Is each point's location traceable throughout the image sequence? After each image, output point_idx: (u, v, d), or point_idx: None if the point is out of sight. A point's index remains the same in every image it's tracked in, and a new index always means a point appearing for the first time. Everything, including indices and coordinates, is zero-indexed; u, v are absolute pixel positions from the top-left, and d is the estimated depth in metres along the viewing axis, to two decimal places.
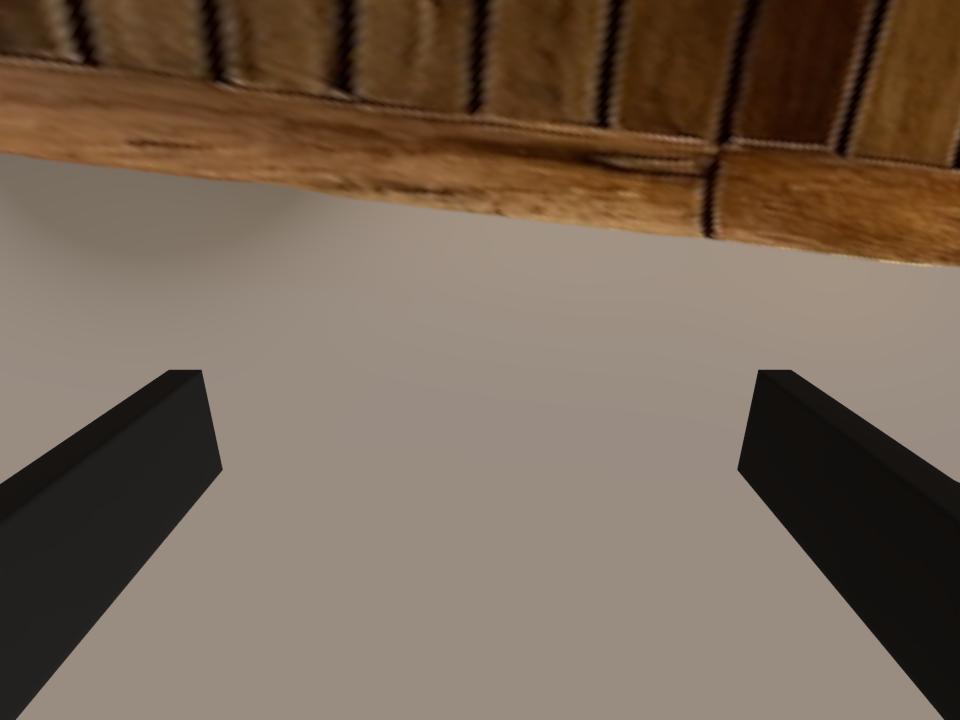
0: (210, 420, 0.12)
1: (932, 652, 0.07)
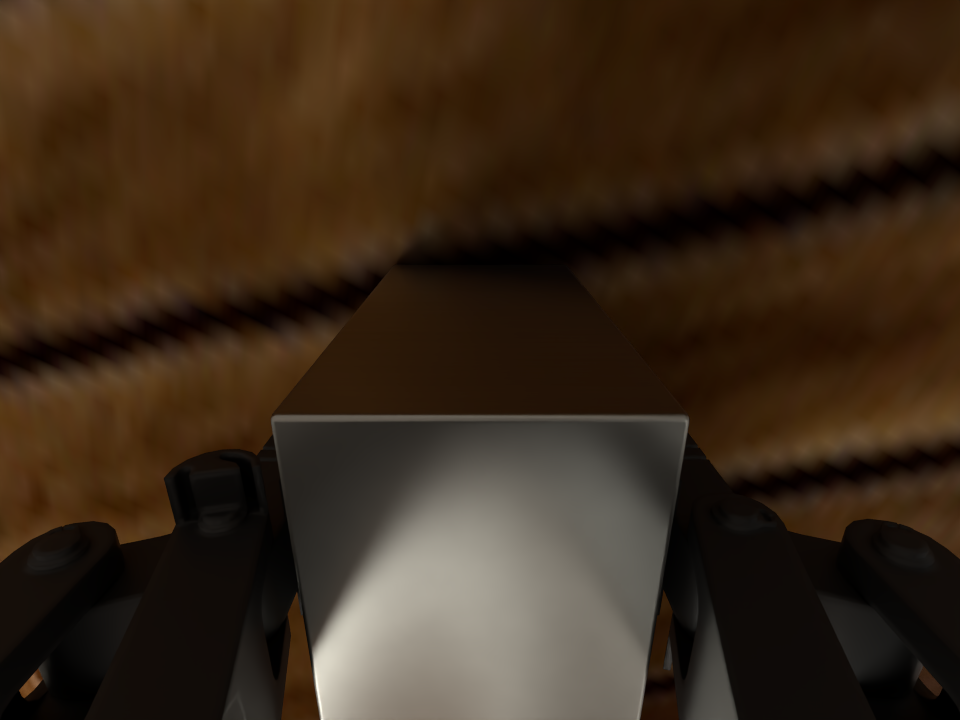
0: None
1: None
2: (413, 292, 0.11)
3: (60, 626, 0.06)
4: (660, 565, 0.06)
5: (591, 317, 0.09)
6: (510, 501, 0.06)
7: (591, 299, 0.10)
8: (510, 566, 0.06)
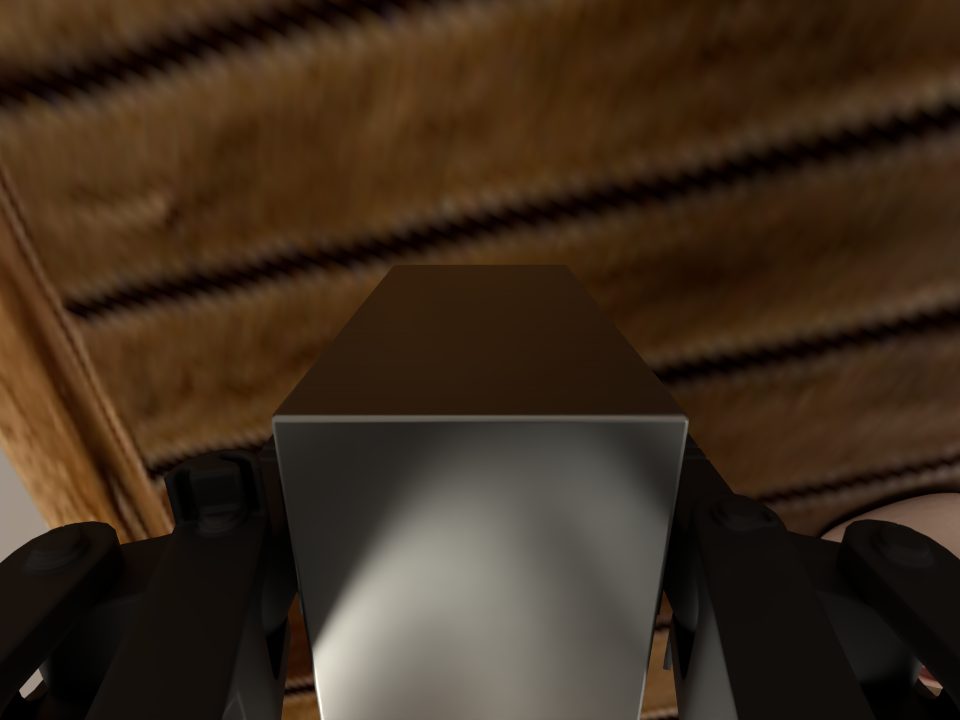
0: None
1: None
2: (413, 293, 0.11)
3: (60, 626, 0.06)
4: (660, 565, 0.06)
5: (591, 318, 0.09)
6: (510, 501, 0.06)
7: (591, 299, 0.10)
8: (510, 567, 0.06)
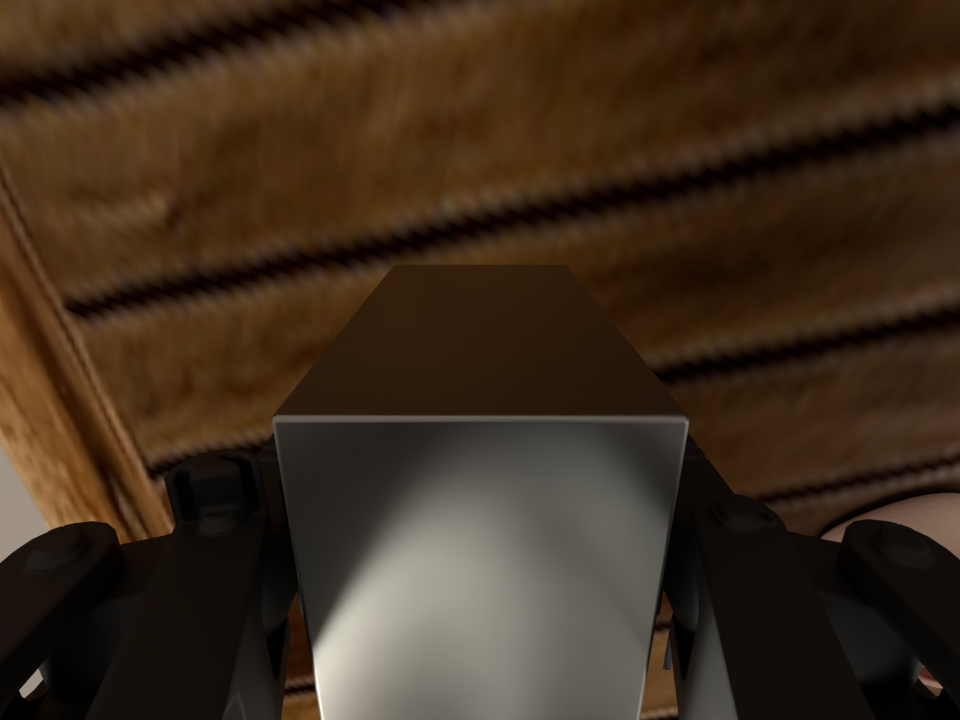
0: None
1: None
2: (413, 292, 0.11)
3: (60, 626, 0.06)
4: (660, 565, 0.06)
5: (591, 318, 0.09)
6: (510, 502, 0.06)
7: (591, 300, 0.10)
8: (510, 566, 0.06)
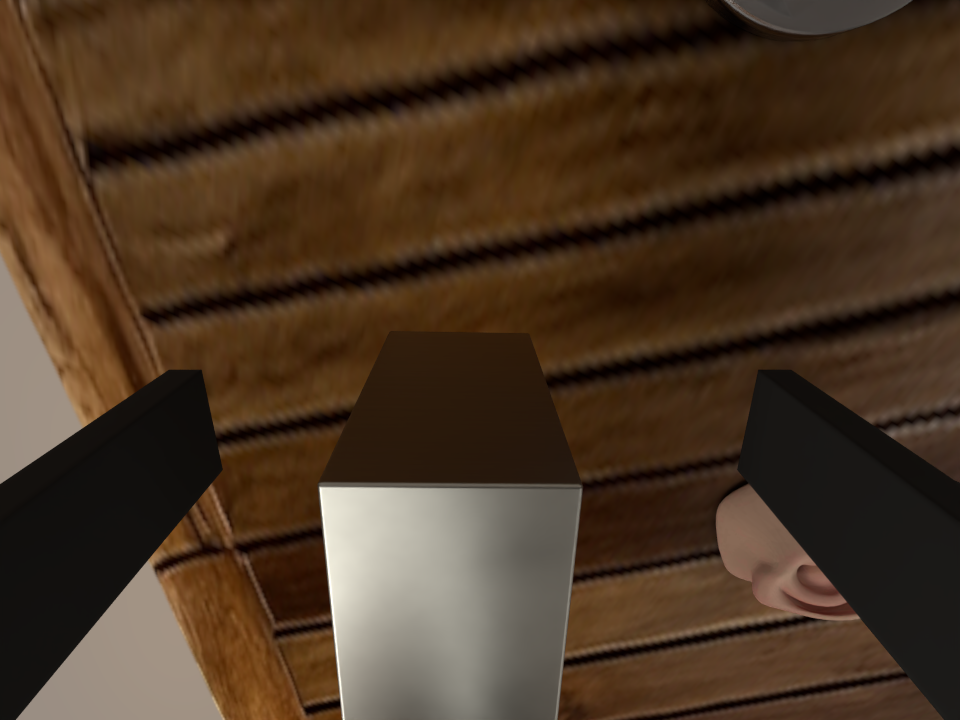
0: (210, 420, 0.12)
1: (932, 652, 0.07)
2: (406, 365, 0.14)
3: None
4: (568, 578, 0.10)
5: (537, 395, 0.12)
6: (470, 537, 0.09)
7: (540, 375, 0.14)
8: (470, 579, 0.10)
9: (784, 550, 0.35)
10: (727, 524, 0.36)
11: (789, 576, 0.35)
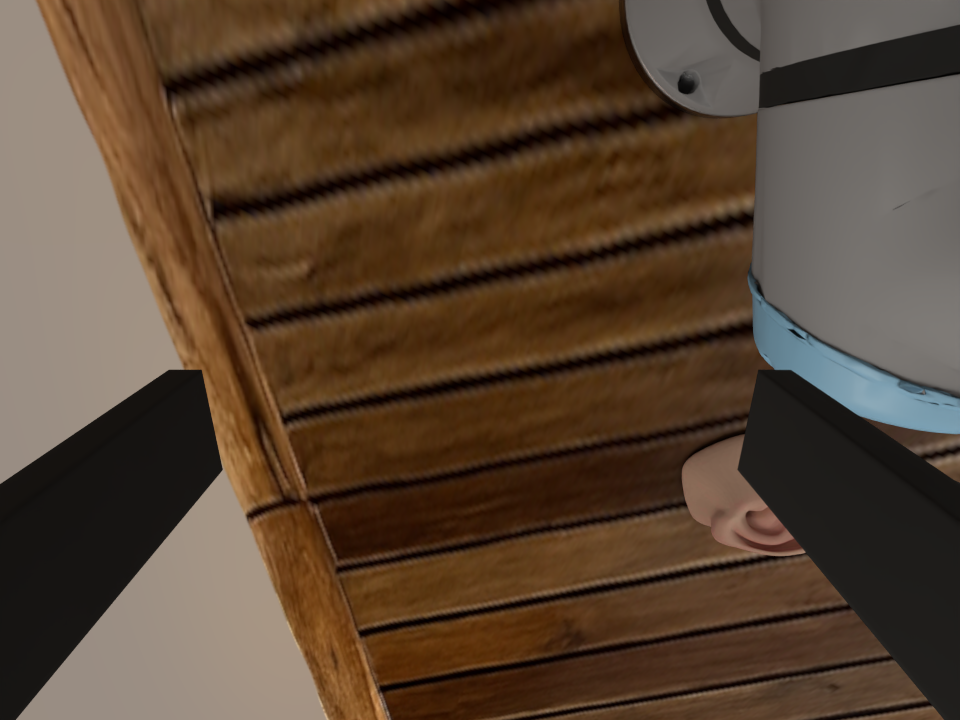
0: (210, 420, 0.12)
1: (932, 652, 0.07)
2: None
3: None
4: None
5: None
6: None
7: None
8: None
9: (734, 499, 0.45)
10: (690, 479, 0.46)
11: (738, 519, 0.45)
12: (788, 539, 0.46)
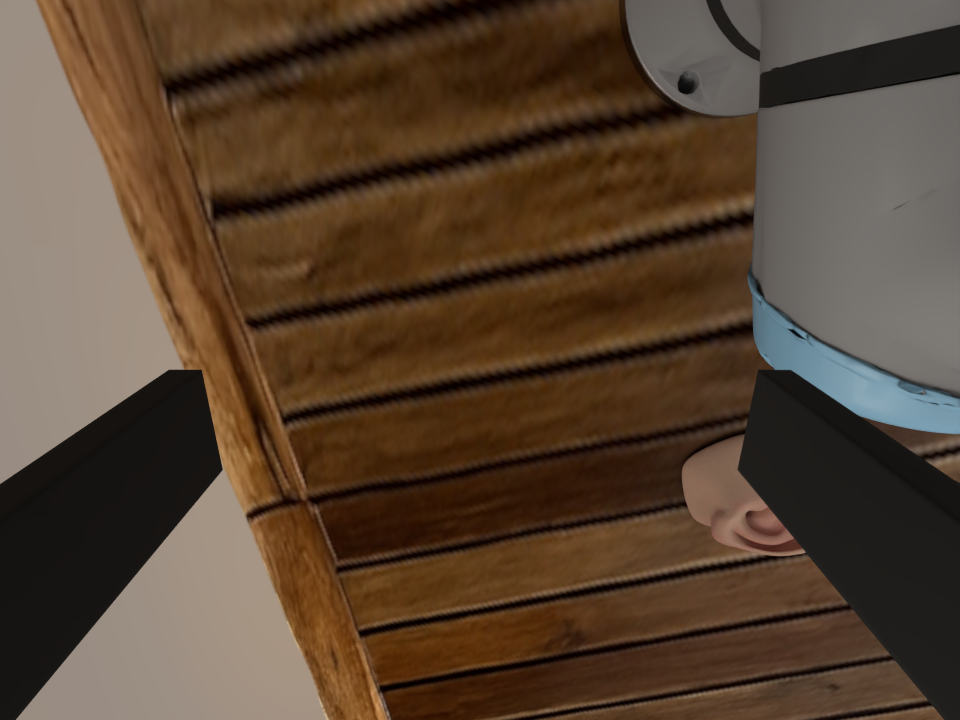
0: (210, 420, 0.12)
1: (932, 652, 0.07)
2: None
3: None
4: None
5: None
6: None
7: None
8: None
9: (734, 499, 0.45)
10: (690, 479, 0.46)
11: (738, 519, 0.45)
12: (788, 539, 0.46)
